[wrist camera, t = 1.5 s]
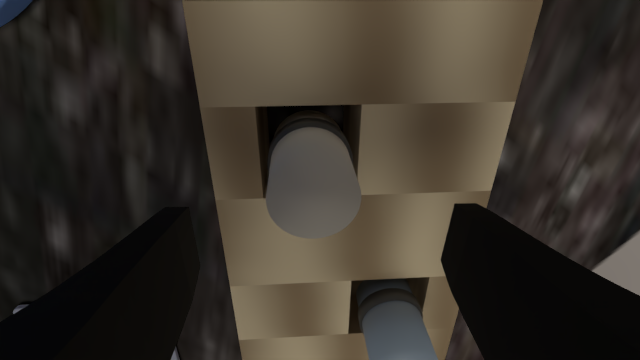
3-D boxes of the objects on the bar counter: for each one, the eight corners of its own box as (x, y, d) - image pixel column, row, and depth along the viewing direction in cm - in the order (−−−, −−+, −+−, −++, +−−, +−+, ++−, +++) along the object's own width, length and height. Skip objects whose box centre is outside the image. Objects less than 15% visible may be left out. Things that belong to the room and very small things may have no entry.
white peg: (272, 179, 16) (266, 243, 12) (267, 108, 14) (257, 154, 10) (345, 176, 16) (362, 239, 12) (347, 106, 14) (368, 152, 10)
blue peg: (352, 314, 20) (367, 393, 16) (355, 271, 19) (371, 347, 15) (408, 311, 20) (435, 388, 16) (415, 269, 19) (447, 343, 15)
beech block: (253, 310, 25) (245, 378, 21) (213, -4, 16) (181, 0, 11) (417, 302, 26) (443, 366, 22) (476, -4, 16) (543, 0, 12)
